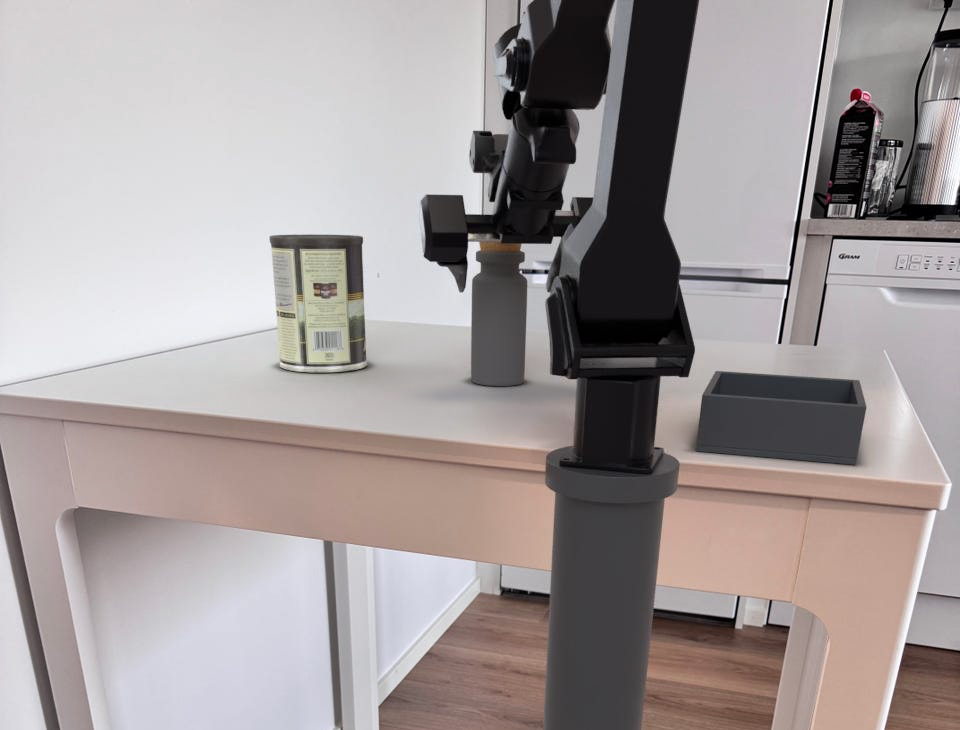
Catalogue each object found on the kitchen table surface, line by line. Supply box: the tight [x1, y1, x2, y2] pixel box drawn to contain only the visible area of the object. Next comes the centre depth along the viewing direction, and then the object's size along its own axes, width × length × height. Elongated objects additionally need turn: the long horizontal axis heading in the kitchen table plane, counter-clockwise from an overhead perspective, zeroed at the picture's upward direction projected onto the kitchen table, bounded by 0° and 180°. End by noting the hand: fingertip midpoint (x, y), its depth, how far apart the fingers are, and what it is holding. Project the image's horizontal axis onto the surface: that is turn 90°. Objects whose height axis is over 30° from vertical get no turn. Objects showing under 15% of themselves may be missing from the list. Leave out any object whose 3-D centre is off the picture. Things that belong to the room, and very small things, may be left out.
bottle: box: [470, 242, 528, 387], centre depth 100 cm, size 6×6×15 cm
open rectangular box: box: [695, 370, 867, 466], centre depth 79 cm, size 12×12×4 cm
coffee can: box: [269, 234, 368, 374], centre depth 108 cm, size 10×10×14 cm
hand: (504, 288), depth 97 cm, fingers open, 9 cm apart
